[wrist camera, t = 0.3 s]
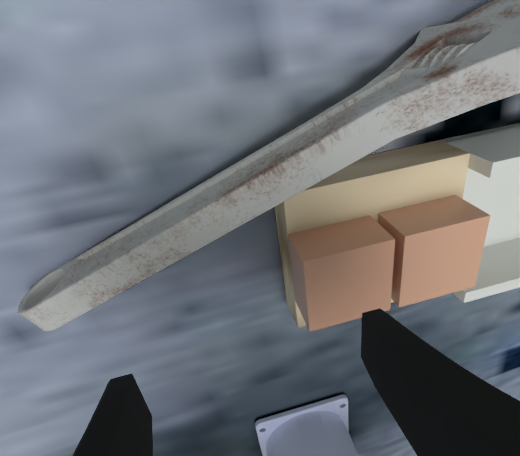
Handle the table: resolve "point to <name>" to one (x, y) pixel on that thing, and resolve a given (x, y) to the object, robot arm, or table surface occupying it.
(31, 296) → the wrench
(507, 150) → the tray
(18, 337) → the table surface
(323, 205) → the board
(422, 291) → the tile
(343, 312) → the tile
